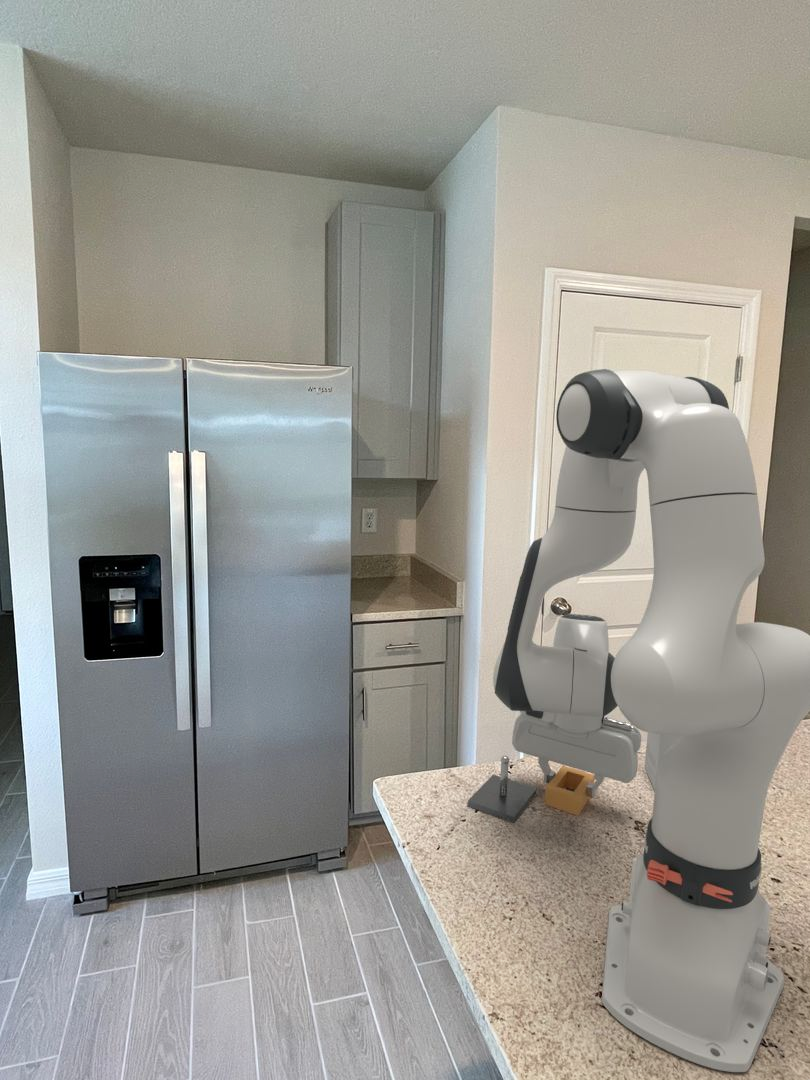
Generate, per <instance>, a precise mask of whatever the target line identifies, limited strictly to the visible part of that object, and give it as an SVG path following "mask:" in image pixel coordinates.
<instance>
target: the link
mask: <svg viewBox="0 0 810 1080" xmlns="http://www.w3.org/2000/svg"><path fill="white" fill-rule="evenodd" d="M589 782H591V783H595V779H594V774H593V773H590V772H587V771H583V770H580V769H576V768H573V767H570V766H566V765H562V766H561V767H560V768H559V769H558V771H557V772H556V775H555V776H554V777H553V779H552V780H551V781H550V783H549V784H547V785H546V786H545V791H544V792H545V794H544V806H548V807H551V808H555V809H557V810H560V811H563V812H566V813H569V814H572V815H574V816H580V814H581V813H582V811H583V809H584V808H585V806H586V804H587V802H588V801H589V799H590V798H591V797H589V796H586V792H587V791H586V787H587V785H588V784H589ZM566 788H568V789H571V790H574V791H571V790H568V789H566Z"/></svg>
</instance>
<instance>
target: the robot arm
mask: <svg viewBox="0 0 810 1080" xmlns="http://www.w3.org/2000/svg"><path fill="white" fill-rule="evenodd" d="M556 425H557V431H558V434H559V436H560V438H561V439H562V441H563V443H564V445H565V449H564V452H563V457H562V461H561V464H560V470H559V474H558V479H557V486H556V487H557V488H556V493H555V502H554V503H555V505H554V506H555V508H554V515H553V517H552V521H551V523H550V525H549V527H548V530H547V531H546V533H545V534H544V535H543V536H542V537H540V538H538V539H535V540H533V541H532V543H531V545H530V547H529V548H528V552H527V553H526V557H525V560H524V564H523V568H522V571H521V575H520V577H519V581H518V585H517V588H516V593H515V596H514V601H513V604H512V610H511V613H510V617H509V622H508V626H507V633H506V636H505V641H504V642H503V645H502V647H501V650H500V651H499V654H498V657H497V659H496V662H495V665H494V669H493V676H492V677H493V678H492V685H493V689H494V694H495V696H496V697H497V698H498V699H499V701H500V702H502V704H503V705H504V706H505V707H507V708H508V709H509V710H510V711H512V712H520V713H519V715H518V716H517V717H516V719H515V722H514V725H513V730H512V738H511V739H512V740H511V743H512V747H513V748H514V750H515V751H516V752H519V753H522V754H525V755H529V756H533V757H535V758H538V761H537V762H538V763H537V764H538V765H539V767H540V770H541V772H542V773H543V783H544V784H547V785H548V784H549V783H550V781H551V780H552V779H553V777H554V776H555V775H556V773H557V772H556V771H554V770H552V769H551V766H550V764H549V762H552V763H556V764H560V765H562V766H565V767H569V768H572V769H575V770H579V771H582V772H586V773H589V774H592V775H594V783H591V782H589V784H588V785H587V787H586V791H587V792H586V796H589V797H590V798H593V799H596V797H597V796H598V792H599V787H600V786H601V784H602V783H603V782H604V781H605V779H606V778H608V779H611V780H615V781H618V782H621V783H624V784H629V783H630V782H632V781H634V779H635V778H636V776H637V772H638V767H639V766H638V765H639V764H638V763H639V761H638V760H639V759H638V751H639V750H640V749H641V745H642V735H641V733H640V731H642V732H645V733H648V732H649V733H658V734H666V735H682V737H681V738H680V739H679V740H678V741H677V742H676V743H675V744H674V745H673V746H672V747H671V748H669V749H668V750H667V752H666V753H665V754H664V755H663V757H662V758H661V760H660V762H659V765H658V768H657V773H656V783H655V790H654V795H653V805H652V814H651V815H652V816H651V818H650V820H649V821H648V823H647V828H646V832H645V835H644V842H643V844H644V845H643V846H644V847H643V848H644V850H643V853H642V854H640V855H638V856H635V857H633V858H632V866H631V867H632V869H631V879H630V890H629V898H628V899H629V901H627V900H623V902H622V903H621V904H616V905H613V906H611V907H610V909H609V913H608V919H607V930H606V941H605V954H604V955H605V956H604V967H603V978H602V979H603V980H602V989H601V991H602V992H601V994H602V995H601V1003H602V1005H603V1006H604V1007H605V1009H606V1010H607V1011H608V1012H609V1013H610V1014H611V1015H612V1016H613V1017H614V1018H615V1019H616V1020H618V1022H619V1023H621V1024H622V1025H623V1026H624V1027H626V1028H627V1029H629V1030H630V1031H631V1032H633V1033H635V1035H638V1036H639V1037H642V1038H643V1039H644V1040H646V1041H648V1042H650V1043H652V1044H653V1045H655V1046H656V1047H659V1048H661V1049H663V1050H665V1051H666V1052H669V1053H671V1054H673V1055H675V1056H678V1057H680V1058H682V1059H684V1060H687V1061H689V1062H692V1063H694V1064H697V1065H700V1066H703V1067H706V1068H710V1069H713V1070H718V1071H723V1072H728V1073H729V1072H730V1073H745V1072H747V1071H749V1069H750V1068H751V1066H752V1063H753V1062H754V1059H755V1056H756V1054H757V1051H758V1049H759V1046H760V1044H761V1042H762V1040H763V1037H764V1035H765V1032H766V1030H767V1027H768V1025H769V1022H770V1020H771V1018H772V1015H773V1013H774V1011H775V1008H776V1005H777V1003H778V1000H779V998H780V996H781V993H782V991H783V988H784V985H785V984H784V983H785V981H784V979H785V978H784V974H783V972H782V971H781V969H780V968H778V966H777V965H775V964H774V963H773V962H772V961H770V960H769V959H768V958H767V956H766V955H767V949H768V948H769V947H770V945H771V939H772V935H771V934H770V933H769V929H770V918H771V909H772V908H771V907H772V906H771V905H770V904H769V903H768V901H767V899H766V898H765V897H764V896H763V895H762V893H761V892H760V890H759V885H760V879H761V876H762V868H763V867H762V853H761V852H762V851H761V850H760V848H759V846H760V845H759V844H760V840H761V839H760V837H761V832H762V824H763V818H764V811H765V806H766V805H765V804H766V800H767V799H766V798H767V796H768V791H769V788H770V785H771V782H772V780H773V777H774V775H775V772H776V770H777V768H778V766H779V763H780V761H781V759H782V757H783V756H784V753H785V751H786V749H787V747H788V745H789V744H790V741H791V740H792V737H793V736H794V734H795V732H796V730H797V729H798V727H799V726H800V724H801V722H802V721H803V720H804V719H805V717H806V716H807V715H808V714H809V713H810V635H809V634H808V633H807V632H805V631H803V630H801V629H798V628H796V627H791V626H787V625H786V626H785V625H781V624H776V623H769V622H762V621H761V622H760V621H755V622H745V623H738V624H737V620H738V614H739V608H740V605H741V602H742V600H743V597H744V595H745V592H746V591H747V589H748V588H749V586H750V585H751V584H752V583H753V582H754V581H756V579H758V578H759V576H760V575H761V573H762V571H764V570H763V569H764V567H765V559H766V558H765V557H766V556H765V551H764V542H763V540H764V539H763V534H762V533H763V532H762V524H761V523H762V521H761V513H760V506H759V498H758V490H757V483H756V476H755V471H754V467H753V461H752V458H751V454H750V450H749V447H748V442H747V441H746V440H747V439H746V436H745V433H744V431H743V428H742V425H741V423H740V421H739V418H738V417H737V415H736V414H735V413H734V412H733V411H732V410H730V407H729V402H728V399H727V397H726V395H725V394H724V392H723V390H722V389H721V388H719V387H717V386H716V385H715V384H713V383H711V382H709V381H707V380H705V379H701V378H699V377H698V378H697V377H694V376H685V377H683V376H678V375H674V374H667V373H660V372H656V371H654V370H653V371H652V370H644V369H643V370H639V369H634V370H633V369H628V370H627V369H626V370H625V369H624V370H623V369H622V370H610V369H607V368H603V369H595V370H589V371H585V372H580V373H578V374H577V375H575V376H574V377H572V378H571V379H570V380H569V381H568V382H567V384H566V385H565V387H564V389H563V390H562V392H561V394H560V397H559V399H558V402H557V406H556ZM644 470H645V471H646V476H647V482H648V499H649V507H650V508H649V511H650V522H651V537H652V551H653V553H652V554H653V576H652V585H651V590H650V595H649V598H648V602H647V605H646V608H645V611H644V614H643V616H642V618H641V621H640V622H639V625H638V627H637V629H636V630H635V631H634V632H633V634H632V635H631V637H630V638H629V639H628V640H627V641H626V643H624V645H622V646H621V647H620V648H619V650H618V651H617V652H616V655H615V656H614V655H613V654H612V653H610V652H609V649H610V648H609V646H610V644H609V642H610V641H609V628H608V622H607V620H605V619H604V618H602V617H599V616H597V615H589V614H577V613H574V614H572V613H568V614H564V615H561V616H559V618H558V621H557V625H556V628H555V634H554V639H553V643H552V645H553V646H546V645H540V644H539V645H538V644H536V643H535V642H534V640H533V637H534V634H535V631H536V630H535V629H536V626H537V622H538V618H539V615H540V610H541V606H542V603H543V600H544V597H545V595H546V593H547V592H549V590H550V589H551V588H552V587H554V586H555V585H558V584H559V583H562V582H564V581H566V580H569V579H571V578H575V577H579V576H582V575H586V574H591V573H593V572H596V571H600V570H602V569H604V568H606V567H609V566H611V565H612V564H613V563H615V562H616V561H618V560H619V559H620V558H621V557H622V556H624V554H625V553H626V552H627V550H628V549H629V547H630V546H631V543H632V539H633V536H634V531H635V530H634V529H635V525H636V517H637V505H638V504H637V503H638V485H639V481H640V480H639V479H640V476H641V474H642V473H643V472H644ZM617 707H618V708H619V711H620V713H621V714H622V715H623V716H624V718H626V720H627V721H628V722H627V721H621V720H620V721H619V720H617V719H615V718H610V717H608V716H607V715H609V714H610V713H612V711H614V710H616V708H617ZM606 716H607V717H606ZM639 730H640V731H639ZM595 780H596V781H595Z"/></svg>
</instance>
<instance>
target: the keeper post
mask: <svg viewBox="0 0 810 1080" xmlns="http://www.w3.org/2000/svg"><path fill="white" fill-rule="evenodd" d="M509 764H510V758H509V757H508V756H507V755H503V756H501V757H500V775H497V774H492V775H491V776H490V777H488V779H487V780H486V781H485V782H484V783H483V784H482V786H480V787H479V788H478V790H476V792H474V793H473V795H472V796H470V798H469V799H467V808H472V809H474V810H477V811H479V812H482V813H485V814H488V815H491V816H494V817H497V818H499V819H502V820H505V821H508V822H510V823H515V822H516V821H517V819H518V818H519V817H520V816H521V815H522V813H524V811H525V809H526V808H527V807H528V806H529V804H531V802H532V801H533V799H534V798H535V796H537V793H538V788H537V787H534V786H531V785H528V784H524V783H521V782H517V781H515V780H512V779H508V778H509V766H510V765H509Z"/></svg>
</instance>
